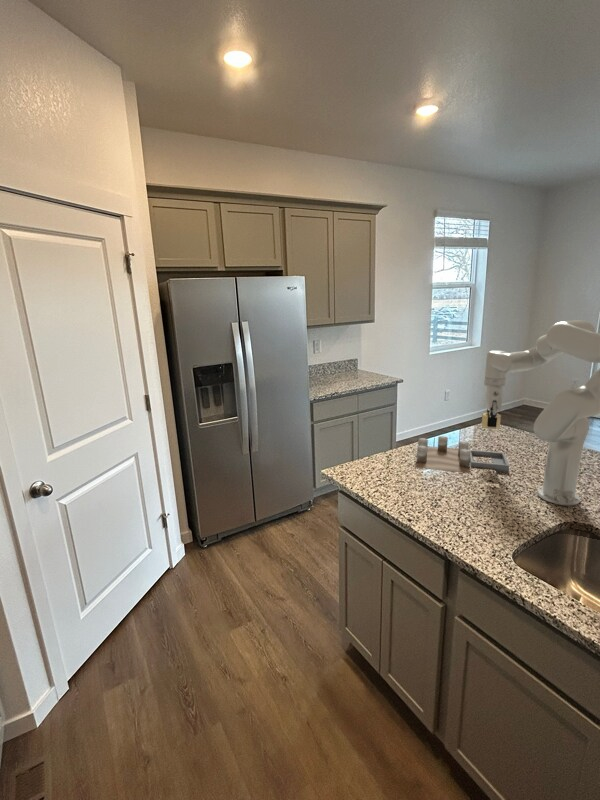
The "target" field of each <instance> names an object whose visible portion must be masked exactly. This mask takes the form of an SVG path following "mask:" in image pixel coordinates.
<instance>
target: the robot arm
mask: <svg viewBox="0 0 600 800" xmlns="http://www.w3.org/2000/svg"><path fill="white" fill-rule="evenodd" d="M565 354H567V355H569V356H572V357H575V358H577V359H580V360H582V361H585V362H588V363H594V364H595V363H597V364H599V363H600V332H597V331H596V327H595V325H593V324H592V323H591V322H590V321H587V320H583V319H578V320H577V319H576V320H565V321H564V320H563V321H559V322H556V323H554V324H552V325H551V326H550V327H549V328H548V330H547V331H546V334H544V335H541V336H539V338H537V340H536V342H535V346H534V347H531V348H529V349H527V350H524V351H523V350H522V351H513V352H507V351H505V350H500V349H499V350H494V349H493V350H489V351H488V352H487V353H486V360H485V370H484V371H485V372H484V383H483V384H484V386H486V392H485V393H486V394H485V395H486V396H485V406H486V412H485V413H489V417H488V427H496V425H497V414H498V411H499V412H501V411H502V408H503V407H502V406H503V405H502V402H503V388H504V387H505V386H506V379H507V378H506V377H507V374H510V373H517V372H519V373H520V372H526V371H531V370H533V369H536V368H538V367H541V366H543V365H546V364H548V363H550V362H551V361H552V360H553V359H555V358H558V357H560V356H563V355H565ZM599 414H600V368H598V369H597V370H596V371H594V372H593V373H592V375H591V376H590V378H589V379H588V380H587V381H586V382H584V383H583V384H582V385H581V386H579V387H576V388H570V389H565V390H562V391H561V392H559V393H557V394H556V395H555V396H553V398H552V399H551V400H550V401H549V403H548V404H547V405H546V406H545V407H544V409H543V410H542V411H541V412H540V413H539V415H538V416H537V418H536V419H535V420H534V423H533V431H534V434H535V436H536V438H538V439H539V440H540V441H542V442H545V443H548V446H547V447H548V448H547V453H546V459H545V461H546V462H545V468H544V475H543V484H542V486H540V487H538V488H537V491H536V494H537V496H538V497H540V499H542V500H544V501H546V502H549V503H550V504H555V505H558V506H569V507H571V506H576V505H579V503H580V501H581V496H579V494H577V493H576V492H577V491H576V490H577V485H578V476H579V472H580V471H579V470H580V465H581V460H582V453H583V449H584V444H585V442H586V438H587V436H588V433H589V429H590V421H589V418H590V417H594V416H597V415H599Z"/></svg>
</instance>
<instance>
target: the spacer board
mask: <svg viewBox="0 0 600 800" xmlns="http://www.w3.org/2000/svg"><path fill="white" fill-rule="evenodd" d="M448 439H449V437H448V436H446V435H445V436H444V435H440V436H438V439H437V441H438V442H437V446H429V445H428V444H429V439H427V438H424V437H423V438H421V437H420V438H418V442H417V443H418V446H417V448H416V449H417V452H416V453H417V454H416V461H417V469H427V470H437V471H445V472H453V473H456V472H457V473H463V474H464V473H466V474H470V473H471V472H470V468H469V467H470V466H471V464H470V451H469V450H470V449H469V448H470V446H469V445H470V443H469V442H468V441H465V440H464V441H463V440H461V441H459V442H458V448H453V447H452V448H451V447H448V442H449V441H448Z"/></svg>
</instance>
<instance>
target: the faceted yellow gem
mask: <svg viewBox="0 0 600 800" xmlns="http://www.w3.org/2000/svg"><path fill="white" fill-rule="evenodd" d="M488 417H489V413H486V412H485V413H483V414H482V417H481V427H483V428H485V429H490V430H492V429H493V430H497V429H499V428H500V427H501V418H502V415H501V414H499V413H497V425H496V427H488Z"/></svg>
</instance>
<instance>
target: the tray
mask: <svg viewBox="0 0 600 800" xmlns="http://www.w3.org/2000/svg"><path fill="white" fill-rule="evenodd" d="M468 450H469V451H470V467H474V468H485V469H486V468H487V469H493V470H495V471H496V472H498V473H499V472H500V473H509V472H510V465H509V462H508V459H507V457H506V455H505V453H504V452H499V451H498V452H497V451H487V450H486V451H484V450H477V449H476V450H475V449H474V450H473V449H468ZM473 456H481V457H482V456H484V457H490V459H491V462H480V461H474V460H473Z"/></svg>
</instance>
